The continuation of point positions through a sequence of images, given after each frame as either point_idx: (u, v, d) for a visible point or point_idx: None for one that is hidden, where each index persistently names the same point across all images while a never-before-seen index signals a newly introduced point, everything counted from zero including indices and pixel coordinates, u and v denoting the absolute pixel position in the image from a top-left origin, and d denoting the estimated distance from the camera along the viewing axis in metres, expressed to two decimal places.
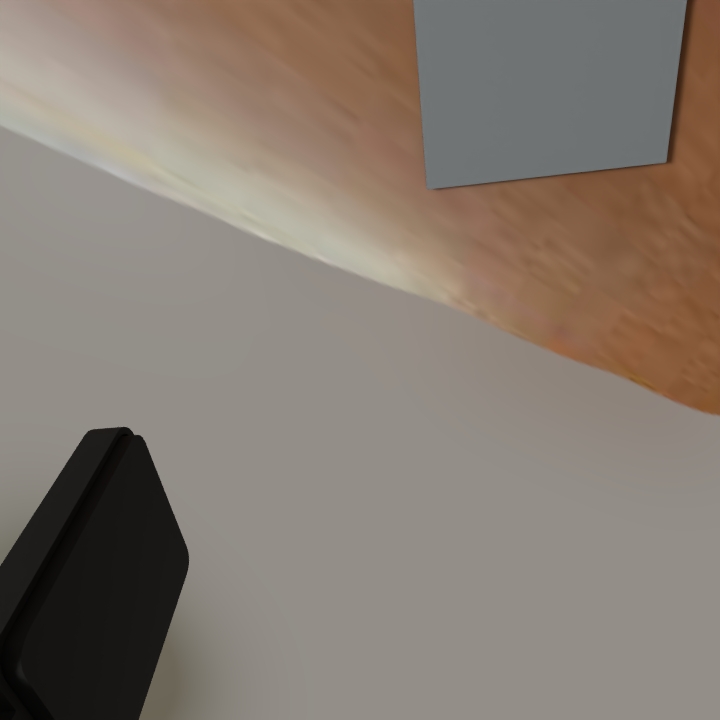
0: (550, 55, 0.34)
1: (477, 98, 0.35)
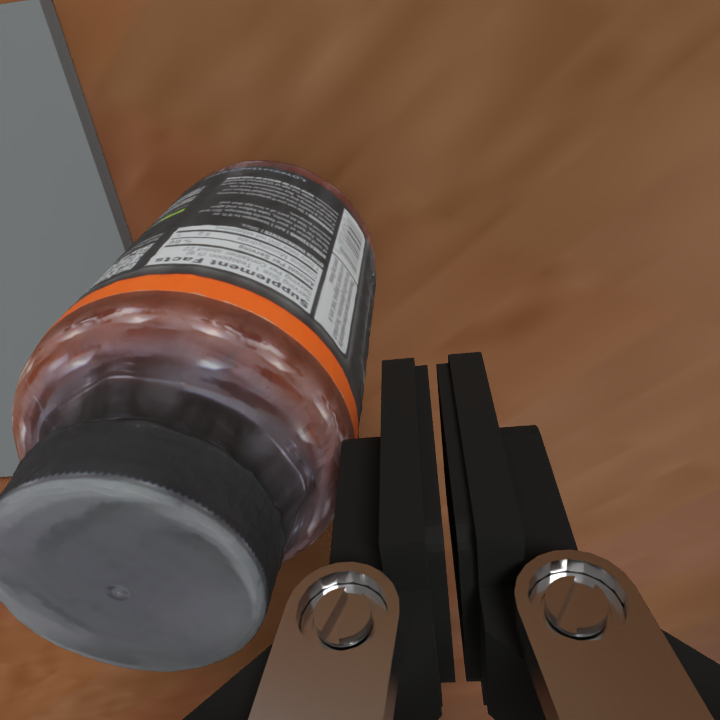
0: None
1: None
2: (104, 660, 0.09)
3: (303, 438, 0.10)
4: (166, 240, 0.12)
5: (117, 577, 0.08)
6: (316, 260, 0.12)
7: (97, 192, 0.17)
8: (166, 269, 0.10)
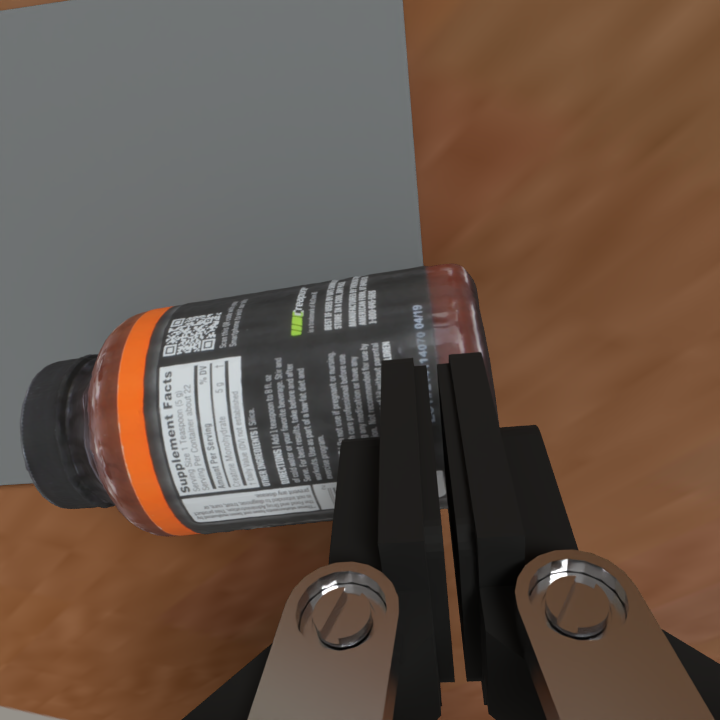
0: (92, 296, 0.18)
1: None
2: None
3: None
4: (215, 357, 0.14)
5: None
6: (265, 479, 0.14)
7: (407, 164, 0.16)
8: (150, 389, 0.14)
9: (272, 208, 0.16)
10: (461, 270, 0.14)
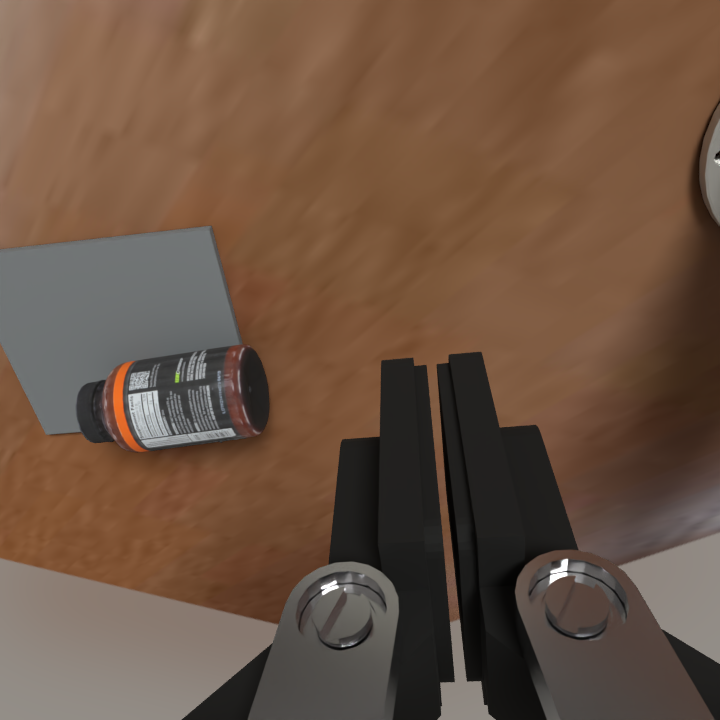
0: (98, 347, 0.42)
1: (51, 295, 0.40)
2: None
3: None
4: (148, 390, 0.38)
5: None
6: (170, 432, 0.38)
7: (223, 297, 0.39)
8: (125, 402, 0.38)
9: (172, 312, 0.40)
10: (239, 353, 0.38)
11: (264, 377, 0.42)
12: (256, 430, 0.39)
